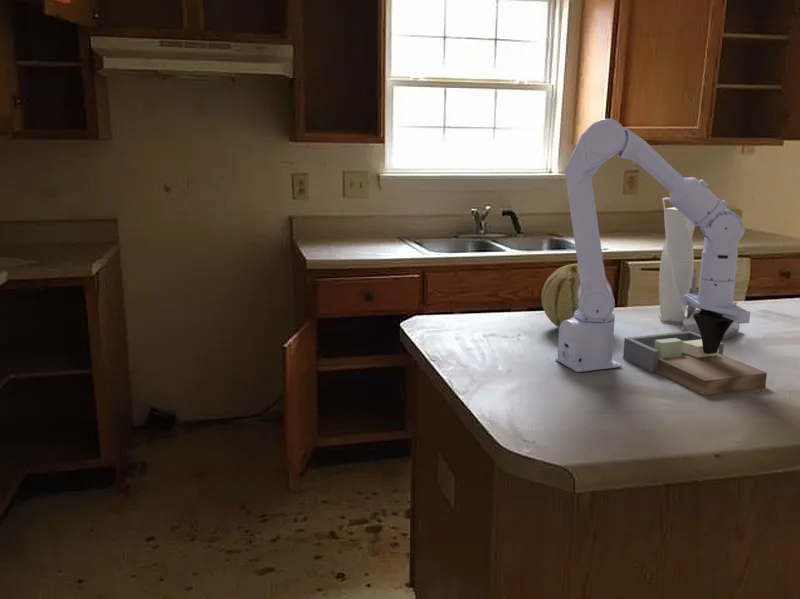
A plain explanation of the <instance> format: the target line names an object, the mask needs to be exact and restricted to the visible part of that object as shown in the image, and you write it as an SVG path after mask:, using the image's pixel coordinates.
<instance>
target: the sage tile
mask: <svg viewBox="0 0 800 599" xmlns="http://www.w3.org/2000/svg"><path fill="white" fill-rule="evenodd" d="M682 346H683V341H682V340H680V339H677V338H670V339H660V340H655V345H654V349H656V350H658V351H659V359H663V358H672V357H680V356H682Z"/></svg>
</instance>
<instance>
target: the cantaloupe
mask: <svg viewBox="0 0 800 599" xmlns="http://www.w3.org/2000/svg"><path fill="white" fill-rule="evenodd" d="M606 280H607V282H608V283H609V284H610V282H609V280H608V279H607V277H606ZM579 285H580V276H579V268H578V263H572V264H565V265H564V266H561V267H559V268H557V269H556V270H554V271H553V273H551V274H550V276H548V277H547V279H546V281H545V282H544V285H543V288H542V290H541V304H542V309H543V311H544V314H545V315H546V317H547V318H548V319H549V320H550V322H551V323H552V324H553V325H554V326H555V327H557V328H559V327H560V325H561V323H562V322H563V321H564V320H568V319H571V318H572V317H574V312H575V311H577V309H578V288H579Z"/></svg>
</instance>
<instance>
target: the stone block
mask: <svg viewBox="0 0 800 599" xmlns="http://www.w3.org/2000/svg"><path fill="white" fill-rule="evenodd" d="M700 311H701V309H696V310H695V311H694V312H693V313H692V314H691V316H690V317H689V319H684V321H683V324H682V328H681V332H686V331H692V332H695V333H697V334H700V331H699V328H698V325H697V323H696V321H695V319H694V318H693V316H694V314H695V313H699V312H700ZM739 331H740V324H739V323H736V321H734V322H733V323H732V324H731V325H730V326H729V328H728V329H727V331H726V332H725V334H724V336H723V338H722V340H725V339H727V338H732V337H733V335H734V336H736V334H737V335H738V333H739ZM700 335H701V334H700Z"/></svg>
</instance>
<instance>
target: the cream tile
mask: <svg viewBox="0 0 800 599" xmlns="http://www.w3.org/2000/svg"><path fill="white" fill-rule="evenodd" d="M682 352H683V353H685V354H688V355H691V356H694V357H697V358H698V357H707V356H716V355H718V352H719V348H718V351H717V353H713V354H706V353H704V349H703V344H702V339H700V340H690V341H683V346H682Z"/></svg>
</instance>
